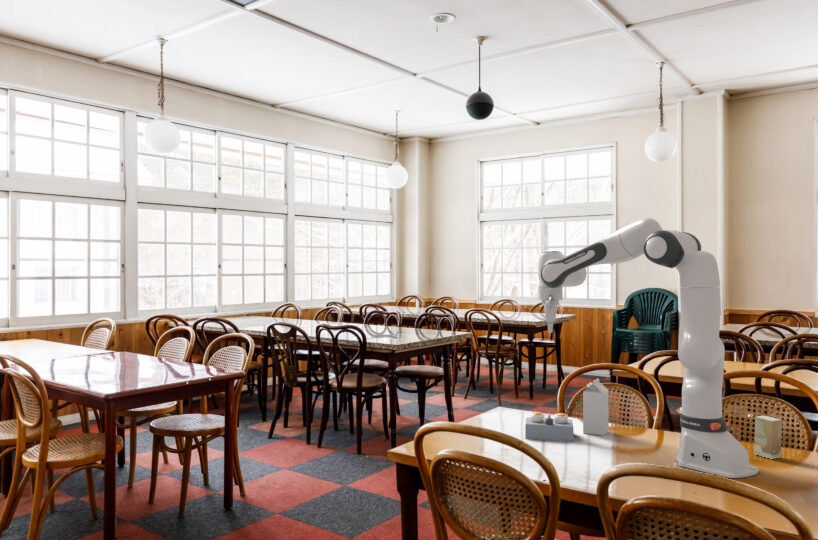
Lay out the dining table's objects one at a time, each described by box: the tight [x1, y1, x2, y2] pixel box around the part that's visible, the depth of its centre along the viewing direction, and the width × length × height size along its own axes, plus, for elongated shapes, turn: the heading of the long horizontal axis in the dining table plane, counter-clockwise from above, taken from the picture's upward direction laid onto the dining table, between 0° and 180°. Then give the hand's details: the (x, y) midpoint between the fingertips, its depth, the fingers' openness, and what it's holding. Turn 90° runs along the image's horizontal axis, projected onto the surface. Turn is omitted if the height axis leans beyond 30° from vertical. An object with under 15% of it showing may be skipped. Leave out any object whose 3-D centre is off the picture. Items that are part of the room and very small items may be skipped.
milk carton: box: [582, 377, 609, 437], centre depth 226 cm, size 7×7×19 cm
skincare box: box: [754, 415, 783, 460], centre depth 197 cm, size 6×4×12 cm
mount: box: [524, 417, 574, 442], centre depth 221 cm, size 16×10×5 cm, turn 78°
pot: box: [544, 413, 554, 425], centre depth 218 cm, size 3×3×3 cm
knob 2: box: [554, 412, 569, 424], centre depth 220 cm, size 4×4×8 cm
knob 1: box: [530, 411, 545, 423], centre depth 222 cm, size 4×4×8 cm
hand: (550, 332), depth 234 cm, fingers closed
